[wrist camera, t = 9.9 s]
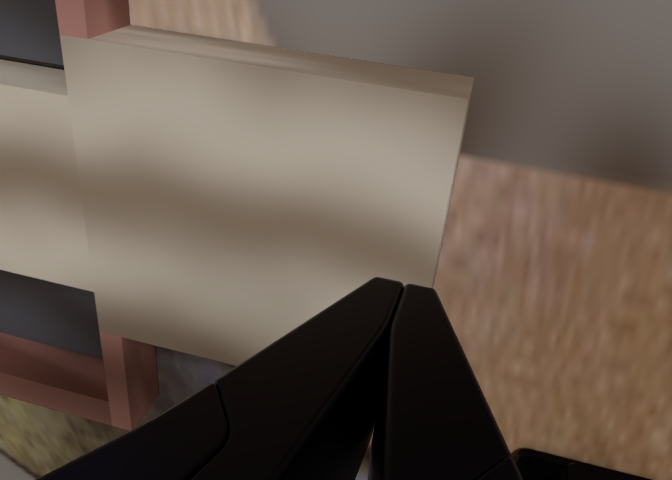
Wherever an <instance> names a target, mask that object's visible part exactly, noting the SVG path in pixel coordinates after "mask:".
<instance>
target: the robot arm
mask: <svg viewBox="0 0 672 480" xmlns="http://www.w3.org/2000/svg"><path fill="white" fill-rule="evenodd" d="M373 429H374V432H373ZM372 432H373V439H372V446H371V453H370V462H369V471H368V480H650V479H646V478H642V477H638V476H634V475H630V474H626V473H622V472H618V471H614V470H610V469H606V468H602V467H598V466H595V465H591V464H587V463H583V462H579V461H575V460H571V459H567V458H563V457H559V456H555V455H551V454H547V453H543V452H539V451H535V450H531V449H523V450H521V451H519V452H518V453H517V455H516V457H515V460H514V459H512V458H511V453H510V451H509V449H508V447H507V444H506V442H505V440H504V438H503V436H502V434H501V431H500V429H499V427H498V425H497V423H496V421H495V418H494V416H493V414H492V412H491V410H490V408H489V405H488V403H487V401H486V399H485V397H484V395H483V392H482V390H481V388H480V386H479V384H478V382H477V379H476V377H475V375H474V373H473V371H472V369H471V366H470V364H469V362H468V360H467V358H466V356H465V353H464V351H463V349H462V347H461V345H460V343H459V340H458V338H457V336H456V334H455V332H454V330H453V327H452V325H451V323H450V321H449V319H448V317H447V314H446V312H445V310H444V308H443V306H442V303H441V301H440V299H439V297H438V295H437V293H436V291H435V290H434V289H433V288H430V287H425V286H420V285H416V284H411V283H410V284H406V285H405V286H404V285H403V283H402V282H400V281H396V280H391V279H387V278H382V277H374V278H372V279H371V280H369V281H368V282H366V283H364V284H363V285H361V286H360V287H358V288H357V289H355V290H354V291H352V292H351V293H349V294H347V295H346V296H344V297H343V298H341V299H340V300H338V301H337V302H335V303H334V304H332V305H330V306H329V307H327V308H326V309H324V310H323V311H321V312H320V313H318V314H317V315H315V316H313V317H312V318H310V319H309V320H307V321H306V322H304V323H303V324H301V325H300V326H298V327H296V328H295V329H293V330H292V331H290V332H289V333H287V334H286V335H284V336H283V337H281V338H279V339H278V340H276V341H275V342H273V343H272V344H270V345H269V346H267V347H266V348H264V349H262V350H261V351H259V352H258V353H256V354H255V355H253V356H252V357H250V358H249V359H247V360H245V361H244V362H242V363H241V364H239V365H238V366H236V367H235V368H233V369H232V370H230V371H228V372H227V373H225V374H224V375H222V376H221V377H219V378H218V379H216V381H215V383H213V382H212V383H210V384H208V385H206V386H205V387H203V388H202V389H200V390H199V391H197V392H196V393H194V394H193V395H191V396H189V397H188V398H186V399H184V400H183V401H181V402H180V403H178V404H176V405H175V406H173V407H171V408H170V409H168V410H166V411H165V412H163V413H161V414H160V415H158V416H156V417H155V418H153V419H151V420H149V421H147V422H146V423H144V424H142V425H140V426H138V427H136V428H135V429H133V430H131V431H129V432H127V433H125V434H123V435H122V436H120V437H118V438H116V439H114V440H112V441H110V442H108V443H106V444H105V445H103V446H101V447H99V448H97V449H95V450H93V451H91V452H89V453H87V454H85V455H83V456H81V457H79V458H77V459H75V460H73V461H71V462H69V463H67V464H65V465H63V466H61V467H60V468H58V469H56V470H54V471H52V472H50V473H48V474H46V475H44V476H42V477H40V478H38V479H36V480H355V478H356V476H357V473H358V471H359V468H360V466H361V463H362V460H363V458H364V455H365V453H366V450H367V447H368V444H369V442H370V439H371V436H372ZM526 461H532V462H526Z"/></svg>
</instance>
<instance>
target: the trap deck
mask: <svg viewBox="0 0 672 480" xmlns="http://www.w3.org/2000/svg"><path fill="white" fill-rule="evenodd" d="M0 55H4V56H10V57H16V58H22V59H28V60H34V61H40V62H46V63H52V64H58V65H64V70H62V69H56V68H50V67H45V66H39V65H33V64H27V63H21V62H15V61H9V60H3V59H0V395H3V396H7V397H10V398H14V399H18V400H21V401H25V402H28V403H32V404H35V405H39V406H43V407H46V408H50V409H53V410H57V411H61V412H64V413H68V414H71V415H75V416H78V417H82V418H86V419H89V420H93V421H96V422H100V423H103V424H107V425H111V426H114V427H118V428H121V429H125V430H128V431H131V430H133V429H134V428H135V426H136V425H137V424H138V422H139V421H140V420H141V418H142V417H143V415H144V414H145V413H146V411H147V410H148V409H149V407H150V406H151V404H152V403H153V402H154V400H155V399H156V398H157V396H158V395H159V390H158V377H157V364H156V352H155V346H159V347H163V348H167V349H171V350H175V351H179V352H183V353H187V354H191V355H195V356H199V357H203V358H207V359H211V360H215V361H219V362H223V363H227V364H231V365H235V366H238V365H239V364H241V363H242V362H244V361H245V360H247V359H249V358H250V357H252V356H253V355H255V354H256V353H258V352H259V351H261V350H262V349H264V348H266V347H267V346H269V345H270V344H272V343H273V342H275V341H276V340H278V339H279V338H281V337H283V336H284V335H286V334H287V333H289V332H290V331H292V330H293V329H295V328H296V327H298V326H300V325H301V324H303V323H304V322H306V321H307V320H309V319H310V318H312V317H313V316H315V315H317V314H318V313H320V312H321V311H323V310H324V309H326V308H327V307H329V306H330V305H332V304H334V303H335V302H337V301H338V300H340V299H341V298H343V297H344V296H346V295H347V294H349V293H351V292H352V291H354V290H355V289H357V288H358V287H360V286H361V285H363V284H364V283H366V282H368V281H369V280H371V279H372V278H374V277H382V278H387V279H391V280H396V281H400V282H402V283H403V285H404V286H405V285H406V284H410V283H411V284H416V285H420V286H425V287H430V288H433V285H434V280H435V275H436V270H437V265H438V260H439V255H440V250H441V245H442V240H443V235H444V230H445V225H446V220H447V215H448V210H449V205H450V199H451V194H452V189H453V184H454V179H455V174H456V169H457V164H458V159H459V154H460V149H461V144H462V138H463V134H464V128H465V124H466V118H467V113H468V109H469V103H470V98H471V93H472V88H473V83H474V77H468V76H462V75H455V74H449V73H442V72H435V71H428V70H422V69H415V68H409V67H402V66H396V65H389V64H382V63H376V62H369V61H362V60H356V59H350V58H343V57H336V56H330V55H323V54H317V53H310V52H303V51H296V50H290V49H283V48H277V47H271V46H264V45H257V44H251V43H244V42H238V41H231V40H225V39H218V38H211V37H205V36H198V35H192V34H185V33H178V32H172V31H165V30H159V29H152V28H145V27H139V26H132V25H130V19H129V7H128V0H0Z"/></svg>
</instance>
